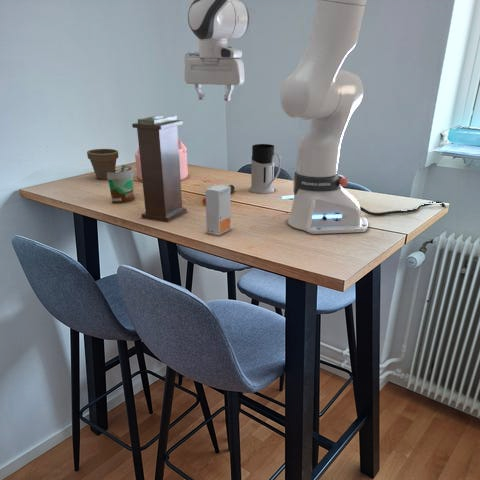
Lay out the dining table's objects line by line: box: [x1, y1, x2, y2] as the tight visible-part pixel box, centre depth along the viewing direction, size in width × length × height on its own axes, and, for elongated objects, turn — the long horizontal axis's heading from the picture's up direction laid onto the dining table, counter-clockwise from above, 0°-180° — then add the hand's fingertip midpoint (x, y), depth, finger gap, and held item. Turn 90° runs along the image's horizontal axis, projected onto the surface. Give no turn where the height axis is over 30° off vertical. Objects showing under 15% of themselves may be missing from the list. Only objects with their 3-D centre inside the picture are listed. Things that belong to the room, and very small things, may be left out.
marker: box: [202, 184, 236, 206], centre depth 157 cm, size 19×2×2 cm
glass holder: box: [249, 143, 282, 194], centre depth 161 cm, size 9×14×15 cm, turn 33°
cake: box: [134, 139, 189, 181], centre depth 180 cm, size 20×20×14 cm
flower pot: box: [86, 148, 119, 181], centre depth 180 cm, size 12×11×10 cm
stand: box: [131, 114, 188, 223], centre depth 135 cm, size 12×9×27 cm
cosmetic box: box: [205, 184, 232, 236], centre depth 125 cm, size 6×4×12 cm
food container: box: [107, 164, 135, 204], centre depth 153 cm, size 12×6×10 cm, turn 168°
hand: (214, 100), depth 153 cm, fingers open, 8 cm apart
